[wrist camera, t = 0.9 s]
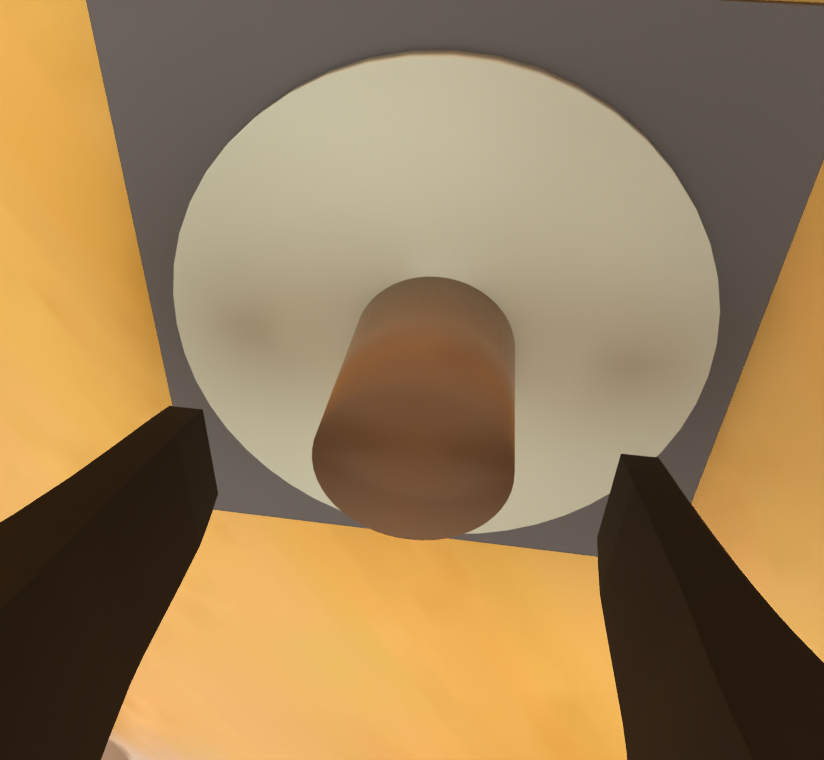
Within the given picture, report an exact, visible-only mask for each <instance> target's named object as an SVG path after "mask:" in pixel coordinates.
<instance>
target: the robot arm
mask: <svg viewBox="0 0 824 760" xmlns="http://www.w3.org/2000/svg"><path fill="white" fill-rule="evenodd" d="M217 496H218V490H217V484H216V479H215V473H214V468H213V462H212V457H211V451H210V446H209V440H208V435H207V429H206V424H205V418H204V413H203V409H194V408H185V407H175V406H169V407H167V408H166V409H164V410H163V411H161V412H160V413H158V414H157V415H156V416H154V417H153V418H151V419H150V420H149V421H147V422H146V423H144V424H143V425H142V426H140V427H139V428H138V429H136V430H135V431H134V432H132V433H131V434H130V435H128V436H127V437H125V438H124V439H123V440H121V441H120V442H119V443H117V444H116V445H115V446H113V447H112V448H110V449H109V450H108V451H106V452H105V453H103V454H102V455H101V456H99V457H98V458H96V459H95V460H94V461H92V462H91V463H90V464H88V465H87V466H85V467H84V468H83V469H81V470H80V471H78V472H77V473H76V474H74V475H73V476H71V477H70V478H68V479H67V480H65V481H64V482H62V483H61V484H59V485H58V486H56V487H55V488H53V489H52V490H50V491H49V492H47V493H46V494H44V495H42V496H41V497H39V498H38V499H36V500H35V501H33V502H32V503H30V504H29V505H27V506H26V507H24V508H23V509H21V510H20V511H18V512H17V513H15V514H13V515H12V516H10V517H9V518H7V519H5V520H4V521H2V522H0V760H101V758H102V755H103V752H104V750H105V747H106V744H107V742H108V739H109V736H110V734H111V731H112V729H113V726H114V724H115V721H116V719H117V716H118V714H119V711H120V709H121V706H122V704H123V701H124V699H125V696H126V694H127V691H128V688H129V686H130V684H131V681H132V679H133V677H134V675H135V673H136V670H137V668H138V666H139V664H140V662H141V660H142V658H143V656H144V654H145V652H146V650H147V648H148V646H149V644H150V642H151V640H152V638H153V636H154V634H155V632H156V630H157V628H158V627H159V625H160V623H161V621H162V619H163V617H164V615H165V613H166V611H167V609H168V607H169V605H170V603H171V601H172V599H173V598H174V596H175V594H176V592H177V590H178V588H179V586H180V584H181V582H182V580H183V578H184V576H185V574H186V572H187V570H188V568H189V566H190V564H191V562H192V560H193V558H194V556H195V554H196V552H197V550H198V548H199V546H200V544H201V541H202V539H203V536H204V533H205V531H206V528H207V525H208V522H209V520H210V517H211V514H212V511H213V508H214V505H215V502H216V499H217ZM597 547H598V570H599V586H600V597H601V603H602V609H603V615H604V620H605V626H606V632H607V638H608V643H609V649H610V654H611V660H612V665H613V671H614V677H615V682H616V688H617V693H618V699H619V704H620V710H621V716H622V721H623V728H624V735H625V743H626V750H627V760H824V663H823V662H822V661H821V660H820V659H819V658H818V657H817V656H816V655H815V654H814V653H813V652H812V650H811V649H810V648H809V647H808V646H807V645H806V644H805V643H804V642H803V641H802V640H801V639H800V638H799V637H798V636H797V635H796V634H795V633H794V632H793V631H792V630H791V629H790V628H789V626H788V625H787V624H786V623H785V622H784V621H783V620H782V619H781V618H780V617H779V615H778V614H777V613H776V612H775V611H774V610H773V608H772V607H771V606H770V605H769V604H768V603H767V601H766V600H765V599H764V598H763V597H762V596H761V594H760V593H759V592H758V591H757V590H756V588H755V587H754V586H753V585H752V584H751V582H750V581H749V580H748V579H747V577H746V576H745V575H744V574H743V572H742V571H741V570H740V569H739V568H738V566H737V565H736V564H735V562H734V561H733V560H732V558H731V557H730V556H729V554H728V553H727V552H726V551H725V549H724V548H723V547H722V545H721V544H720V543H719V541H718V540H717V539H716V538H715V536H714V535H713V534H712V532H711V531H710V529H709V528H708V527H707V525H706V524H705V523H704V521H703V520H702V518H701V517H700V516H699V514H698V513H697V511H696V510H695V509H694V507H693V506H692V504H691V503H690V502H689V500H688V499H687V497H686V496H685V494H684V493H683V492H682V490H681V489H680V487H679V486H678V484H677V483H676V481H675V480H674V478H673V477H672V476H671V474H670V473H669V471H668V470H667V468H666V467H665V466H664V464H663V463H662V462H661V460H660V459H659V458H658V457H648V456H639V455H629V454H621V455H620V459H619V462H618V466H617V469H616V473H615V476H614V480H613V483H612V487H611V490H610V494H609V498H608V501H607V505H606V508H605V512H604V515H603V519H602V522H601V526H600V529H599V533H598V536H597Z"/></svg>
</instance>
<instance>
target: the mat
mask: <svg viewBox="0 0 824 760" xmlns="http://www.w3.org/2000/svg"><path fill="white" fill-rule="evenodd" d="M86 2H87V7H88V12H89V16H90V21H91V26H92V30H93V35H94V40H95V44H96V49H97V54H98V59H99V63H100V68H101V73H102V77H103V82H104V87H105V91H106V96H107V101H108V105H109V110H110V115H111V119H112V124H113V129H114V133H115V138H116V143H117V148H118V152H119V157H120V162H121V166H122V171H123V176H124V180H125V185H126V190H127V194H128V199H129V204H130V208H131V213H132V218H133V223H134V227H135V232H136V237H137V241H138V246H139V251H140V255H141V260H142V265H143V269H144V274H145V279H146V283H147V288H148V293H149V298H150V302H151V307H152V312H153V316H154V321H155V326H156V330H157V335H158V340H159V344H160V349H161V354H162V358H163V363H164V368H165V372H166V377H167V382H168V387H169V391H170V396H171V401H172V405H173V406H175V407H185V408H194V409H203V413H204V418H205V424H206V429H207V435H208V440H209V446H210V451H211V457H212V462H213V468H214V473H215V479H216V484H217V490H218V496H217V499H216V502H215V505H214V508H213V510H221V511H229V512H238V513H246V514H254V515H262V516H270V517H279V518H287V519H295V520H303V521H311V522H319V523H328V524H336V525H344V526H352V527H360V528H367V527H365V526H363V525H361V524H359V523H358V522H356V521H354V520H353V519H351V518H350V517H348V516H347V515H346V514H344V513H343V512H342V511H340V510H338V509H336V508H334V507H332V506H329V505H327V504H325V503H323V502H321V501H319V500H316V499H314V498H313V497H311V496H309V495H307V494H306V493H304V492H302V491H301V490H299V489H297V488H295V487H294V486H292V485H290V484H289V483H288V482H286V481H285V480H283V479H282V478H281V477H279V476H278V475H276V474H275V473H274V472H272V471H271V470H269V469H268V468H267V467H266V466H265V465H263V464H262V463H261V462H260V461H259V460H258V459H257V458H255V457H254V456H253V455H252V454H251V453H250V452H249V451H248V450H246V449H245V447H244V446H243V445H242V444H241V443H240V442H239V441H238V440H237V439H236V438H235V437H234V435H233V434H232V433H231V432H230V431H229V430H228V429H227V428H226V426H225V425H224V424H223V422H222V421H221V420H220V418H219V417H218V416H217V414H216V413H215V411H214V410H213V409H212V407H211V406H210V404H209V403H208V401H207V399H206V397H205V396H204V394H203V392H202V390H201V389H200V387H199V385H198V383H197V382H196V380H195V377H194V375H193V372H192V370H191V368H190V365H189V363H188V360H187V358H186V355H185V353H184V349H183V346H182V342H181V338H180V334H179V331H178V327H177V322H176V313H175V305H174V297H173V280H174V261H175V255H176V249H177V243H178V238H179V232H180V230H181V227H182V224H183V221H184V218H185V215H186V212H187V209H188V206H189V203H190V201H191V199H192V197H193V195H194V193H195V192H196V190H197V188H198V186H199V184H200V182H201V180H202V178H203V176H204V175H205V173H206V171H207V170H208V169H209V167H210V166H211V165H212V163H213V162H214V161H215V159H216V158H217V157H218V155H219V154H220V153H221V151H222V150H223V149H224V147H225V146H226V145H227V144H228V143H229V142H230V141H231V140H232V139H233V138H234V137H235V136H236V135H237V134H238V133H239V132H240V131H241V130H242V129H243V128H244V127H245V126H246V125H247V124H248V123H250V122H251V121H252V120H253V119H254V118H255V117H256V116H257V115H259V114H260V113H261V112H262V111H263V110H265V109H266V108H267V107H269V106H270V105H271V104H273V103H274V102H276V101H277V100H279V99H280V98H282V97H283V96H284V95H286V94H287V93H289V92H290V91H292V90H293V89H294V88H296V87H297V86H299V85H301V84H303V83H305V82H307V81H309V80H311V79H313V78H316V77H318V76H320V75H322V74H324V73H326V72H328V71H330V70H332V69H335V68H338V67H341V66H344V65H347V64H350V63H353V62H357V61H360V60H363V59H366V58H369V57H374V56H380V55H386V54H392V53H398V52H405V51H411V50H462V51H469V52H477V53H485V54H492V55H499V56H502V57H506V58H509V59H513V60H517V61H520V62H524V63H527V64H531V65H534V66H538V67H541V68H543V69H545V70H547V71H550V72H552V73H554V74H556V75H558V76H561V77H563V78H565V79H567V80H570V81H572V82H574V83H576V84H578V85H580V86H582V87H583V88H585V89H586V90H588V91H589V92H591V93H593V94H594V95H596V96H597V97H599V98H600V99H602V100H604V101H605V102H607V103H608V104H610V105H611V106H613V107H614V108H615V109H616V110H618V111H619V112H620V113H621V114H622V115H623V116H624V117H626V118H627V119H628V120H629V121H630V122H631V123H633V124H634V125H635V126H636V127H637V128H638V129H639V130H641V131H642V132H643V133H644V134H645V136H646V137H647V138H648V139H649V140H650V141H651V143H652V144H653V145H654V146H655V147H656V149H657V150H658V151H659V152H660V153H661V154H662V156H663V157H664V158H665V159H666V160H667V162H668V163H669V164H670V166H671V168H672V169H673V171H674V173H675V174H676V176H677V178H678V179H679V181H680V183H681V184H682V186H683V188H684V189H685V191H686V193H687V194H688V196H689V198H690V199H691V201H692V203H693V204H694V206H695V208H696V209H697V212H698V214H699V217H700V219H701V222H702V224H703V227H704V229H705V232H706V234H707V237H708V239H709V242H710V244H711V249H712V253H713V258H714V262H715V267H716V271H717V275H718V285H719V302H720V318H719V328H718V337H717V345H716V349H715V353H714V357H713V361H712V364H711V368H710V372H709V375H708V378H707V380H706V382H705V385H704V387H703V389H702V392H701V394H700V396H699V398H698V401H697V403H696V405H695V406H694V408H693V410H692V411H691V413H690V414H689V416H688V418H687V419H686V421H685V423H684V424H683V426H682V427H681V429H680V430H679V432H678V433H677V434H676V435H675V436H674V438H673V439H672V440H671V441H670V442H669V444H668V445H667V446H666V447H665V448H664V450H663V451H662V452H661V453H660V454H659V455H658V456H657V457H658V458H659V459H660V460H661V462H662V463H663V464H664V466H665V467H666V468H667V470H668V471H669V473H670V474H671V476H672V477H673V478H674V480H675V481H676V483H677V484H678V486H679V487H680V489H681V490H682V492H683V493H684V494H685V496H686V497H687V499H688V500H689V502H690V503H691V502H692V500H693V497H694V494H695V492H696V489H697V487H698V484H699V481H700V479H701V476H702V474H703V471H704V468H705V466H706V463H707V461H708V458H709V455H710V453H711V450H712V448H713V445H714V443H715V440H716V437H717V435H718V432H719V430H720V427H721V424H722V422H723V419H724V417H725V414H726V411H727V409H728V406H729V404H730V401H731V398H732V396H733V393H734V391H735V388H736V385H737V383H738V380H739V378H740V375H741V372H742V370H743V367H744V365H745V362H746V359H747V357H748V354H749V352H750V349H751V346H752V344H753V341H754V339H755V336H756V333H757V331H758V328H759V326H760V323H761V320H762V318H763V315H764V313H765V310H766V308H767V305H768V302H769V300H770V297H771V295H772V292H773V289H774V287H775V284H776V282H777V279H778V276H779V274H780V271H781V269H782V266H783V263H784V261H785V258H786V256H787V253H788V250H789V248H790V245H791V243H792V240H793V237H794V235H795V232H796V230H797V227H798V224H799V222H800V219H801V217H802V214H803V211H804V209H805V206H806V204H807V201H808V198H809V196H810V193H811V191H812V188H813V186H814V183H815V180H816V178H817V175H818V173H819V170H820V167H821V165H822V162H823V160H824V4H821V3H802V2H783V1H764V0H86ZM609 494H610V493H609ZM609 494H608V495H606V496H604V497H602V498H601V499H599V500H597V501H595V502H594V503H592V504H590V505H588V506H585V507H583V508H581V509H578V510H576V511H574V512H571V513H569V514H567V515H564V516H561V517H558V518H555V519H552V520H549V521H546V522H542V523H539V524H536V525H531V526H526V527H521V528H517V529H512V530H506V531H497V532H488V533H475V534H462V535H459V536H455V537H450V539H459V540H467V541H475V542H483V543H491V544H499V545H508V546H516V547H524V548H532V549H540V550H549V551H557V552H565V553H573V554H581V555H589V556H598V547H597V536H598V533H599V529H600V526H601V522H602V519H603V515H604V512H605V508H606V505H607V501H608V498H609ZM369 529H370V528H369Z"/></svg>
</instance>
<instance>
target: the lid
mask: <svg viewBox="0 0 824 760" xmlns="http://www.w3.org/2000/svg"><path fill="white" fill-rule="evenodd" d="M173 297H174V305H175V313H176V322H177V327H178V331H179V334H180V338H181V342H182V346H183V349H184V353H185V355H186V358H187V360H188V363H189V365H190V368H191V370H192V372H193V375H194V377H195V380H196V382H197V383H198V385H199V387H200V389H201V390H202V392H203V394H204V396H205V397H206V399H207V401H208V403H209V404H210V406H211V407H212V409H213V410H214V411H215V413H216V414H217V416H218V417H219V418H220V420H221V421H222V422H223V424H224V425H225V426H226V428H227V429H228V430H229V431H230V432H231V433H232V434H233V435H234V437H235V438H236V439H237V440H238V441H239V442H240V443H241V444H242V445H243V446H244V447H245V449H246V450H248V451H249V452H250V453H251V454H252V455H253V456H254V457H255V458H257V459H258V460H259V461H260V462H261V463H262V464H263V465H265V466H266V467H267V468H268V469H269V470H271V471H272V472H274V473H275V474H276V475H278V476H279V477H281V478H282V479H283V480H285V481H286V482H288V483H289V484H290V485H292V486H294V487H295V488H297V489H299V490H301V491H302V492H304V493H306V494H307V495H309V496H311V497H313V498H314V499H316V500H319V501H321V502H323V503H325V504H327V505H329V506H332V507H334V508H336V509H338V510H340V511H342V512H343V513H344V514H346V515H347V516H348V517H350V518H351V519H353V520H354V521H356V522H358V523H359V524H361V525H363V526H365V527H367V528H370V529H372V530H374V531H377V532H380V533H383V534H386V535H390V536H393V537H398V538H404V539H412V540H437V539H446V538H450V537H455V536H459V535H462V534H475V533H488V532H497V531H506V530H512V529H517V528H521V527H526V526H531V525H536V524H539V523H542V522H546V521H549V520H552V519H555V518H558V517H561V516H564V515H567V514H569V513H571V512H574V511H576V510H578V509H581V508H583V507H585V506H588V505H590V504H592V503H594V502H595V501H597V500H599V499H601V498H602V497H604V496H606V495H608V494H609V493H610V490H611V487H612V483H613V480H614V476H615V473H616V469H617V466H618V462H619V459H620V455H621V454H629V455H639V456H648V457H657V456H658V455H659V454H660V453H661V452H662V451H663V450H664V448H665V447H666V446H667V445H668V444H669V442H670V441H671V440H672V439H673V438H674V436H675V435H676V434H677V433H678V432H679V430H680V429H681V427H682V426H683V424H684V423H685V421H686V419H687V418H688V416H689V414H690V413H691V411H692V410H693V408H694V406H695V405H696V403H697V401H698V398H699V396H700V394H701V392H702V389H703V387H704V385H705V382H706V380H707V378H708V375H709V372H710V368H711V364H712V361H713V357H714V353H715V349H716V345H717V337H718V328H719V318H720V302H719V285H718V275H717V271H716V267H715V262H714V258H713V253H712V249H711V244H710V242H709V239H708V237H707V234H706V232H705V229H704V227H703V224H702V222H701V219H700V217H699V214H698V212H697V209H696V208H695V206H694V204H693V203H692V201H691V199H690V198H689V196H688V194H687V193H686V191H685V189H684V188H683V186H682V184H681V183H680V181H679V179H678V178H677V176H676V174H675V173H674V171H673V169H672V168H671V166H670V164H669V163H668V162H667V160H666V159H665V158H664V157H663V156H662V154H661V153H660V152H659V151H658V150H657V149H656V147H655V146H654V145H653V144H652V143H651V141H650V140H649V139H648V138H647V137H646V136H645V134H644V133H643V132H642V131H641V130H639V129H638V128H637V127H636V126H635V125H634V124H633V123H631V122H630V121H629V120H628V119H627V118H626V117H624V116H623V115H622V114H621V113H620V112H619V111H618V110H616V109H615V108H614V107H613V106H611V105H610V104H608V103H607V102H605V101H604V100H602V99H600V98H599V97H597V96H596V95H594V94H593V93H591V92H589V91H588V90H586V89H585V88H583V87H582V86H580V85H578V84H576V83H574V82H572V81H570V80H567V79H565V78H563V77H561V76H558V75H556V74H554V73H552V72H550V71H547V70H545V69H543V68H541V67H538V66H534V65H531V64H527V63H524V62H520V61H517V60H513V59H509V58H506V57H502V56H499V55H492V54H485V53H477V52H469V51H462V50H411V51H405V52H398V53H392V54H386V55H380V56H374V57H369V58H366V59H363V60H360V61H357V62H353V63H350V64H347V65H344V66H341V67H338V68H335V69H332V70H330V71H328V72H326V73H324V74H322V75H320V76H318V77H316V78H313V79H311V80H309V81H307V82H305V83H303V84H301V85H299V86H297V87H296V88H294V89H293V90H292V91H290V92H289V93H287V94H286V95H284V96H283V97H282V98H280V99H279V100H277V101H276V102H274V103H273V104H271V105H270V106H269V107H267V108H266V109H265V110H263V111H262V112H261V113H260V114H259V115H257V116H256V117H255V118H254V119H253V120H252V121H251V122H250V123H248V124H247V125H246V126H245V127H244V128H243V129H242V130H241V131H240V132H239V133H238V134H237V135H236V136H235V137H234V138H233V139H232V140H231V141H230V142H229V143H228V144H227V145H226V146H225V147H224V149H223V150H222V151H221V153H220V154H219V155H218V157H217V158H216V159H215V161H214V162H213V163H212V165H211V166H210V167H209V169H208V170H207V171H206V173H205V175H204V176H203V178H202V180H201V182H200V184H199V186H198V188H197V190H196V192H195V193H194V195H193V197H192V199H191V201H190V203H189V206H188V209H187V212H186V215H185V218H184V221H183V224H182V227H181V230H180V232H179V238H178V243H177V249H176V255H175V261H174V280H173Z"/></svg>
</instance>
